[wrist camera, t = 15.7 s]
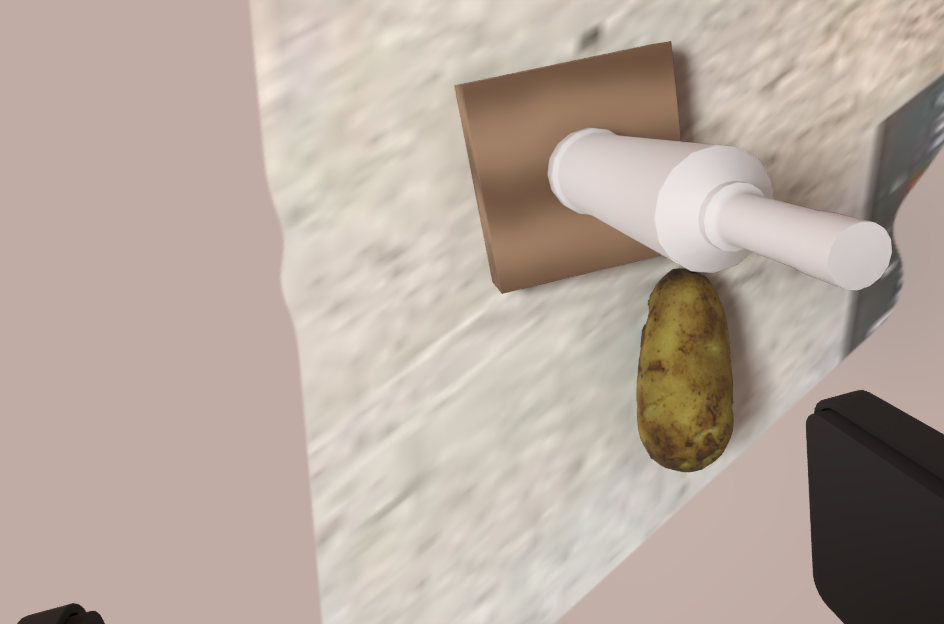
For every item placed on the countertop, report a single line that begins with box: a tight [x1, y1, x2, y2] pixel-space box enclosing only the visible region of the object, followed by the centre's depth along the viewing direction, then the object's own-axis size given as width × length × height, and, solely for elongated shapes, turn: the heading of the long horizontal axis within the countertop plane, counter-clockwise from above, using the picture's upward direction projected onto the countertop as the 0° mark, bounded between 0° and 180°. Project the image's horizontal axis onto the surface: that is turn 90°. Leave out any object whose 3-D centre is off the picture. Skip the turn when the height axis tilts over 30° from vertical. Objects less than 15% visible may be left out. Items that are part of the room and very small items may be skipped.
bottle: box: [548, 128, 892, 290], centre depth 32 cm, size 5×5×25 cm
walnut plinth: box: [455, 41, 681, 294], centre depth 46 cm, size 13×13×3 cm
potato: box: [637, 269, 733, 472], centre depth 48 cm, size 8×13×8 cm, turn 158°
